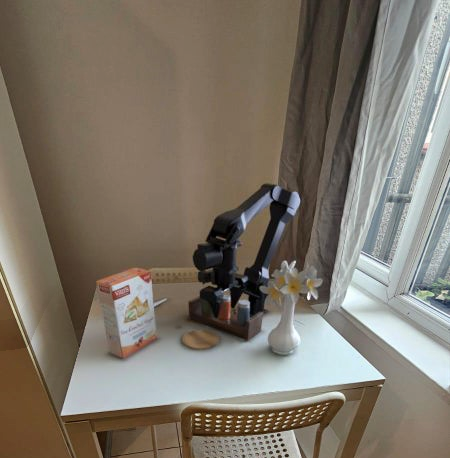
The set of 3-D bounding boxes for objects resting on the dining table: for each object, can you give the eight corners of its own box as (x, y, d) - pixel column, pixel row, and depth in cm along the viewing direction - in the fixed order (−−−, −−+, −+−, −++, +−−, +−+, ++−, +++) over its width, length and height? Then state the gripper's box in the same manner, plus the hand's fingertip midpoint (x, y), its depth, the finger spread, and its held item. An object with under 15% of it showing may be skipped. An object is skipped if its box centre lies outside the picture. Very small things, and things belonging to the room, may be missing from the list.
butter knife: (110, 324, 107) (117, 326, 105) (163, 297, 126) (169, 299, 124) (110, 326, 107) (117, 328, 106) (163, 299, 126) (169, 300, 125)
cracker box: (124, 360, 92) (111, 285, 79) (108, 353, 94) (93, 280, 82) (158, 339, 101) (151, 270, 89) (143, 333, 104) (134, 265, 91)
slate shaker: (240, 319, 107) (242, 298, 103) (250, 322, 105) (252, 301, 101) (234, 323, 105) (235, 302, 100) (244, 327, 103) (245, 305, 99)
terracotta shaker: (223, 313, 110) (223, 293, 106) (232, 316, 109) (233, 296, 104) (216, 317, 108) (216, 296, 103) (225, 320, 106) (226, 299, 102)
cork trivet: (197, 328, 108) (197, 326, 107) (225, 338, 103) (225, 337, 102) (174, 341, 100) (174, 340, 100) (203, 353, 96) (203, 352, 95)
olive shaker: (206, 307, 113) (206, 287, 109) (215, 310, 112) (215, 290, 107) (199, 311, 111) (198, 291, 107) (208, 314, 109) (208, 294, 105)
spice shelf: (203, 311, 118) (203, 294, 114) (261, 331, 107) (263, 312, 103) (188, 319, 112) (188, 301, 109) (247, 341, 102) (249, 321, 98)
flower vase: (247, 358, 94) (255, 269, 79) (276, 332, 107) (287, 251, 92) (290, 373, 89) (306, 281, 74) (314, 344, 102) (333, 260, 86)
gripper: (222, 251, 108) (221, 297, 117) (184, 265, 95) (186, 316, 105) (251, 258, 103) (248, 305, 112) (215, 274, 90) (215, 326, 100)
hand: (224, 312), depth 107 cm, fingers open, 9 cm apart
